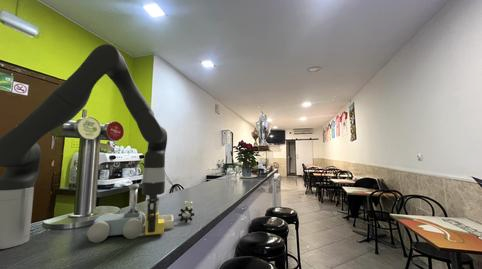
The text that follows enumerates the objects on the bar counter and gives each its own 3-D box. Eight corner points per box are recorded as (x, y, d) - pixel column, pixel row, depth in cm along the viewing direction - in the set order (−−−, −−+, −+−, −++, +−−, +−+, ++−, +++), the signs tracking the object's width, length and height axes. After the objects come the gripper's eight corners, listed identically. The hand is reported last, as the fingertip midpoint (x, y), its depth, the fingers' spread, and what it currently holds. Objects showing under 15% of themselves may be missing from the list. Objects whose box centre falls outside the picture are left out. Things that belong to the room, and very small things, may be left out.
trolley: (86, 243, 68) (88, 220, 69) (98, 230, 80) (99, 210, 81) (141, 237, 73) (142, 215, 74) (145, 225, 86) (146, 207, 86)
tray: (148, 231, 80) (148, 222, 80) (149, 223, 88) (150, 216, 88) (173, 228, 83) (173, 220, 83) (172, 221, 91) (173, 214, 91)
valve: (181, 215, 101) (177, 223, 89) (181, 201, 102) (178, 207, 90) (195, 214, 102) (194, 222, 90) (195, 200, 103) (194, 206, 91)
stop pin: (126, 217, 77) (128, 185, 78) (128, 214, 80) (129, 184, 81) (137, 216, 78) (138, 185, 79) (138, 213, 81) (139, 184, 82)
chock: (145, 235, 73) (145, 215, 73) (146, 230, 77) (147, 211, 78) (163, 233, 75) (164, 213, 75) (163, 228, 79) (164, 210, 80)
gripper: (144, 178, 83) (142, 224, 81) (140, 183, 69) (137, 238, 68) (164, 178, 85) (163, 222, 84) (164, 182, 72) (162, 235, 70)
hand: (151, 229), depth 76 cm, fingers closed on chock, 5 cm apart
